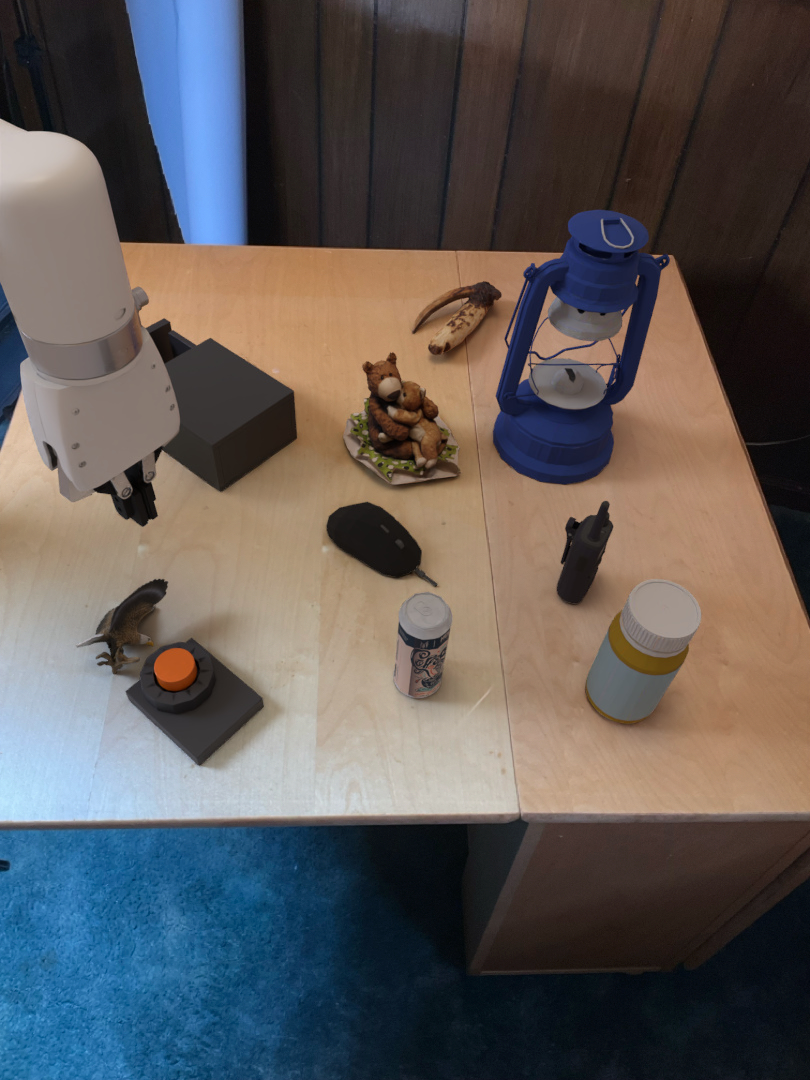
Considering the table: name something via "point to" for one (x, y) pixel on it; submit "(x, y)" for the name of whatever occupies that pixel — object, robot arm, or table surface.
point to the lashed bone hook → (459, 314)
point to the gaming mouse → (375, 539)
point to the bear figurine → (400, 430)
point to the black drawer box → (227, 414)
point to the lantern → (585, 314)
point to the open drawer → (168, 340)
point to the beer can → (421, 644)
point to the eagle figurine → (127, 624)
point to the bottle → (642, 650)
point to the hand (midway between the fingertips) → (139, 513)
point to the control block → (196, 703)
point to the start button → (175, 669)
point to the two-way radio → (583, 554)
